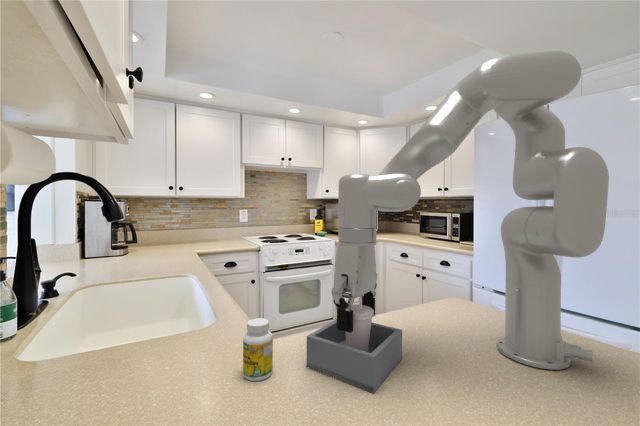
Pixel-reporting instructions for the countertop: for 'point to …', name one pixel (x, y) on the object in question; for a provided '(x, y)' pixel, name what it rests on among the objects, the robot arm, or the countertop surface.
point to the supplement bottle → (257, 350)
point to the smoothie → (360, 327)
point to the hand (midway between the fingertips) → (357, 322)
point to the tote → (355, 355)
